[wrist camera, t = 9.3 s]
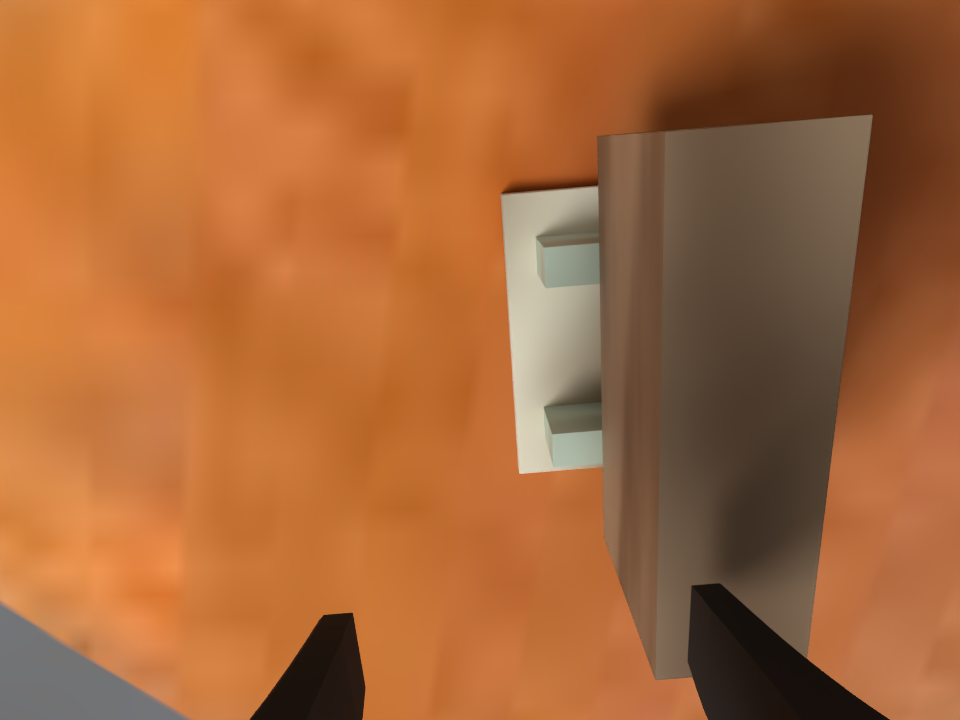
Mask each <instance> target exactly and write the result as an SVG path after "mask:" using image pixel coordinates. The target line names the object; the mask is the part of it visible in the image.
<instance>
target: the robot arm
mask: <svg viewBox="0 0 960 720" xmlns="http://www.w3.org/2000/svg"><path fill="white" fill-rule="evenodd" d="M687 661H688V664H689V667H690V670H691V674H692V677H693V680H694V683H695V686H696V689H697V692H698V694H699V697H700V700H701V703H702V706H703V709H704V711H705V713H706V716H707V718H708V720H890V719H888V718H887V717H885V716H884V715H882V714H881V713H879V712H878V711H876V710H875V709H873V708H872V707H870V706H869V705H867V704H866V703H864V702H863V701H862V700H860V699H859V698H857V697H856V696H855V695H853V694H852V693H850V692H849V691H848V690H846V689H845V688H844V687H842V686H841V685H840V684H838V683H837V682H836V681H835V680H833V679H832V678H831V677H829V676H828V675H827V674H825V673H824V672H823V671H821V670H820V669H819V668H818V667H816V666H815V665H814V664H813V663H811V662H810V661H809V660H808V659H806V658H805V657H804V656H803V655H802V654H800V653H799V652H798V651H797V650H796V649H794V648H793V647H792V646H791V645H790V644H788V643H787V642H786V641H785V640H784V639H782V638H781V637H780V636H779V635H778V634H777V633H776V632H774V631H773V630H772V629H771V628H770V627H769V626H768V625H766V624H765V623H764V622H763V621H762V620H761V619H760V618H759V617H757V616H756V615H755V614H754V613H753V612H752V611H751V610H750V609H748V608H747V607H746V606H745V605H744V604H743V603H742V602H741V601H740V600H738V599H737V598H736V597H735V596H734V595H733V594H732V593H731V592H729V591H728V590H727V589H726V588H725V587H724V586H723V585H722V584H720V583H716V584H704V585H691V603H690V622H689V641H688V660H687ZM364 697H365V682H364V676H363V670H362V664H361V658H360V653H359V647H358V641H357V635H356V629H355V623H354V617H353V613H343V614H331V615H324V616H323V617H322V618H321V619H320V620H319V621H318V623H317V625H316V626H315V628H314V629H313V631H312V632H311V634H310V636H309V637H308V639H307V640H306V642H305V643H304V645H303V646H302V648H301V649H300V651H299V652H298V654H297V655H296V657H295V658H294V660H293V661H292V663H291V664H290V666H289V667H288V668H287V670H286V671H285V673H284V674H283V675H282V677H281V678H280V680H279V681H278V682H277V684H276V685H275V687H274V688H273V689H272V691H271V692H270V694H269V695H268V696H267V698H266V699H265V700H264V702H263V703H262V704H261V706H260V707H259V708H258V710H257V711H256V712H255V713H254V715H253V716H252V717H251V718H250V720H362V718H363V708H364Z"/></svg>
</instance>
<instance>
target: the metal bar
mask: <svg viewBox="0 0 960 720" xmlns="http://www.w3.org/2000/svg"><path fill="white" fill-rule="evenodd" d="M872 118H873V115H859V116H846V117H832V118H818V119H804V120H791V121H777V122H763V123H749V124H736V125H724V126H712V127H700V128H688V129H676V130H665V131H653V132H641V133H629V134H617V135H605V136H597V143H598V205H599V267H600V330H601V392H602V454H603V517H604V539H605V542H606V545H607V548H608V550H609V553H610V556H611V559H612V561H613V564H614V567H615V570H616V572H617V575H618V578H619V581H620V584H621V586H622V589H623V592H624V595H625V597H626V600H627V603H628V606H629V608H630V611H631V614H632V617H633V619H634V622H635V625H636V628H637V630H638V633H639V636H640V639H641V642H642V644H643V647H644V650H645V653H646V655H647V658H648V661H649V664H650V666H651V669H652V672H653V675H654V677H655V680H665V679H677V678H688V677H692V674H691V670H690V667H689V664H688V661H687V660H688V641H689V622H690V603H691V585H704V584H716V583H720V584H722V585H723V586H724V587H725V588H726V589H727V590H728V591H729V592H731V593H732V594H733V595H734V596H735V597H736V598H737V599H738V600H740V601H741V602H742V603H743V604H744V605H745V606H746V607H747V608H748V609H750V610H751V611H752V612H753V613H754V614H755V615H756V616H757V617H759V618H760V619H761V620H762V621H763V622H764V623H765V624H766V625H768V626H769V627H770V628H771V629H772V630H773V631H774V632H776V633H777V634H778V635H779V636H780V637H781V638H782V639H784V640H785V641H786V642H787V643H788V644H790V645H791V646H792V647H793V648H794V649H796V650H797V651H798V652H799V653H800V654H802V655H803V656H804V657H805V658H806V659H807V654H808V646H809V637H810V629H811V621H812V613H813V604H814V596H815V588H816V580H817V571H818V563H819V555H820V547H821V538H822V530H823V522H824V514H825V505H826V497H827V489H828V481H829V472H830V464H831V456H832V448H833V439H834V431H835V423H836V415H837V406H838V398H839V390H840V382H841V373H842V365H843V357H844V349H845V340H846V332H847V324H848V316H849V307H850V299H851V291H852V283H853V274H854V266H855V258H856V250H857V241H858V233H859V225H860V217H861V208H862V200H863V192H864V184H865V175H866V167H867V159H868V151H869V142H870V134H871V126H872Z"/></svg>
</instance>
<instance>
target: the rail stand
mask: <svg viewBox="0 0 960 720" xmlns="http://www.w3.org/2000/svg"><path fill="white" fill-rule="evenodd" d="M501 208H502V224H503V239H504V254H505V270H506V285H507V301H508V316H509V331H510V347H511V362H512V378H513V393H514V408H515V424H516V439H517V455H518V467H519V473H520V474H523V473H535V472H547V471H559V470H571V469H583V468H595V467H603V454H602V392H601V330H600V267H599V205H598V186H586V187H574V188H562V189H550V190H538V191H526V192H514V193H501Z"/></svg>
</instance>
